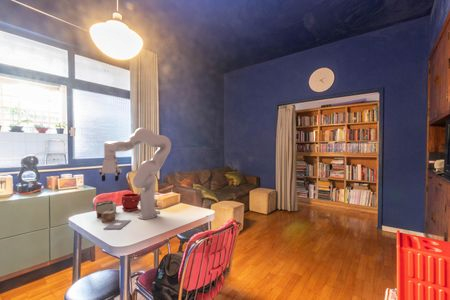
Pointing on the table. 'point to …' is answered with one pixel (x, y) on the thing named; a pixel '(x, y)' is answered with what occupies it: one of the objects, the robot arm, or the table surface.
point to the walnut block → (108, 216)
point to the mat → (117, 224)
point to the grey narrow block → (114, 207)
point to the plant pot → (130, 202)
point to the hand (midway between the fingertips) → (110, 180)
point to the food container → (103, 207)
